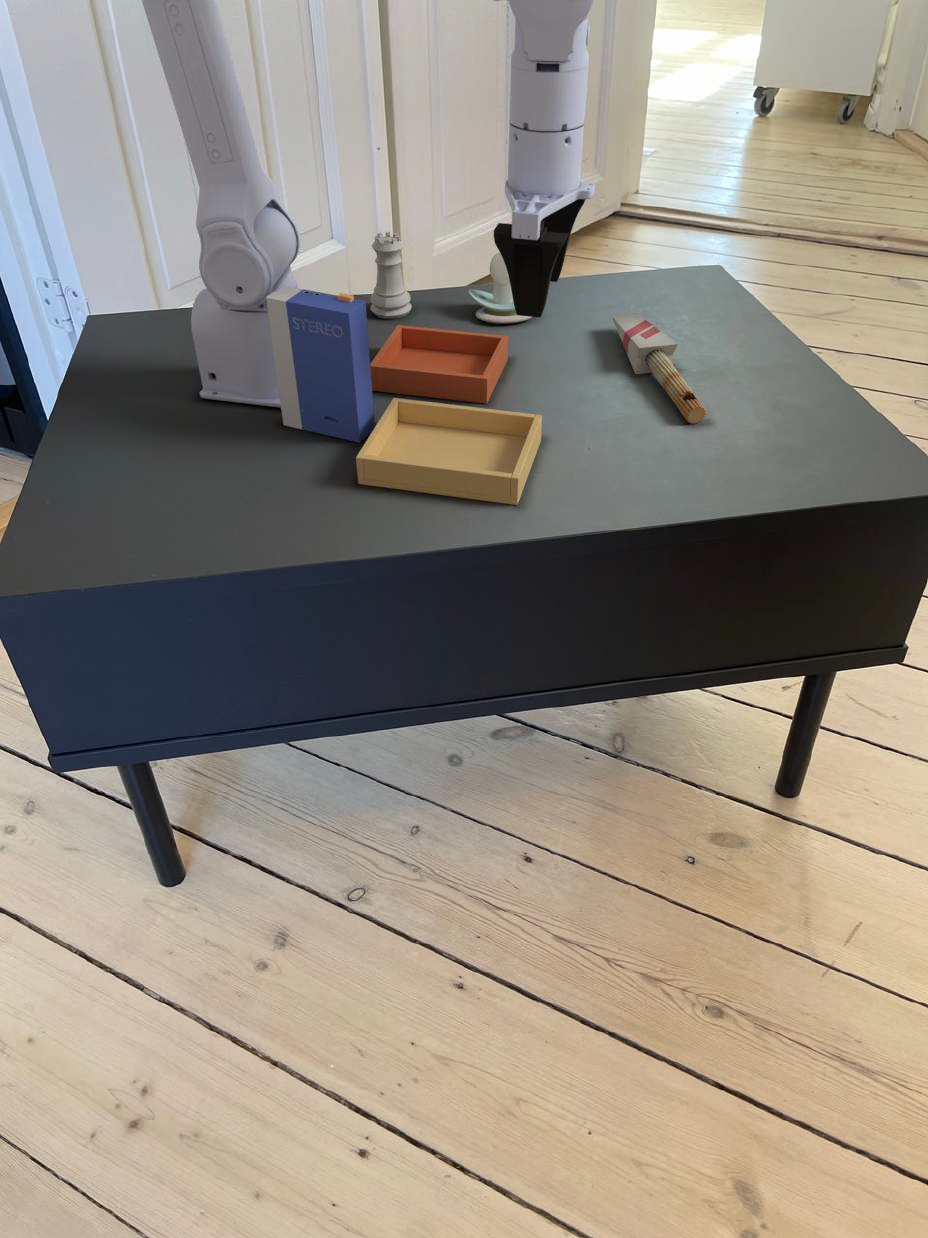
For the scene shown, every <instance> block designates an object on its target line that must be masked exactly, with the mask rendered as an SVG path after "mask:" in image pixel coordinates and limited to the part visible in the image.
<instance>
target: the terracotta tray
mask: <svg viewBox="0 0 928 1238" xmlns="http://www.w3.org/2000/svg"><path fill="white" fill-rule="evenodd" d="M508 355H509V336H508V335H502V334H491V333H480V332H473V331H471V332H470V331H462V330H453V329H452V330H451V329H442V328H431V327H424V326H423V327H421V326H413V325H403V324H402V325H401V324H397V325H396V327H395V328H394V330H393V331H392V332H391V333H390V335H389V336H388V337H387V339H386V341H385V342H384V344H383V345H382V346H381V348H380V349H379V351H378V352H377V354H376V355H375V356H374V358H373V359H372V361H370V369H371V383H372V392H382V393H389V394H391V393H392V394H399V395H408V396H416V397H424V398H435V399H442V400H451V401H458V402H459V401H460V402H468V403H469V402H470V403H478V404H485V405H486V404H488V402H489V400H490V398H491V396H492V394H493V393H494V390H495V388H496V385H497V384H498V381H499V380H500V377H501V375H502V373H503V371H504V368H505V367H506V364H507V362H508V361H509V356H508Z"/></svg>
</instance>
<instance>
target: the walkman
mask: <svg viewBox="0 0 928 1238" xmlns="http://www.w3.org/2000/svg"><path fill="white" fill-rule="evenodd" d="M354 296H355V295H354V294H350V293H349V294H348V293H344V292H340V293H339V294H338V295H337V294H331V293H325V292H320V291H315V290H309V289H304V288H299V287H298V288H293V287H288V286H284V287H283V288H281V289H280V290H278V291H277V292H275V291H274V292H273V293H271V294H270V295H268V296H267V297H266V301H267V308H268V315H269V322H270V329H271V336H272V348H273V355H274V362H275V369H276V376H277V383H278V390H279V397H280V404H281V408H280V410H281V418H282V424H283V426H286V427H291V428H294V429H299V430H304V431H307V432H312V433H316V434H321V435H325V436H328V437H332V438H333V437H334V438H338V439H341V440H346V441H351V442H355V443H359V444H360V443H361V442H362V441H364V440H365V439H366V438H367V437H368V436H370V434H371V433H372V431H373V430H374V428H375V426H376V423H375V411H374V410H375V409H374V398H373V391H372V383H371V369H370V364H371V357H370V342H369V331H368V317H367V303H366V300H364V299H358V298H355V297H354Z"/></svg>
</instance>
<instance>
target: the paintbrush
mask: <svg viewBox="0 0 928 1238" xmlns="http://www.w3.org/2000/svg"><path fill="white" fill-rule="evenodd" d="M611 318H612V321H613V324H614V326H615V328H616V330H617V333H618V335H619V338H620V339H621V340H620V341H621V343H622V346H623V349H624V351H625V352H626V355H627V357H628V360H629V363H630V365H631V367H632V370H633V372H634V374H635V375H642V374H651V373H653V375H654V377H656V379H657V380H658V382H659V383H660V384H661V386H662V388H663V389H664V391H665V392H666V394H667V395H668V396H669V398H670V399H671V400H672V402H673V403H674V405H675V406H676V407H677V409H678V410H679V412H680V414H682V417H684V419H685V420H686V421H687V423H690V424H697V423H700V422H701V421H703V420H704V419H705V418H706V415H707V409H706V408H705V406H704V405H703V404H702V403H701V401H700V400H699V398H698V397H697V396H696V394H695V393H694V392H693V390H692V389H691V387H690V386H689V385H688V384H687V382H686V381H685V379H684V378H683V377H682V375H681V373H680V372H679V371H678V370H677V368H676V367H675V366H674V353H675V351H676V349H677V347H678V345H679V344H678V343H677V342H676V341H674V340H673V339H671V337H669V336H668V335H667V334H665V332H663V331H661V330H660V329H659V328H657V327H656V326H655V325H654V324H652V323H651V322H650V321H649V320H647V319H646V318H644V317H643V316H641V315H640V314H639V313H638V312H635V313H626V314H614V315H611Z"/></svg>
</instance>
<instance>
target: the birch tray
mask: <svg viewBox="0 0 928 1238" xmlns="http://www.w3.org/2000/svg"><path fill="white" fill-rule="evenodd" d="M542 427H543V415H542V414H535V413H527V412H519V411H511V410H510V411H509V410H501V409H495V408H493V409H491V408H483V407H475V406H468V405H467V406H466V405H458V404H449V403H441V402H433V401H432V402H431V401H425V400H415V399H407V398H398V397H393V398H392V399H391V401H390V402H389V404H388V406H387V408H386V409H385V411H384V412H383V414H382V416H381V417H380V418H379V420H378V421H377V423H376V424H375V428H374V430H373V431H372V432H371V433H370V434H369V435H368V438H366V441H365V442H364V444H363V446H362V447H361V449H360V451H358V453H357V455H356V457H355V460H356V461H355V463H356V474H357V484H358V485H363V486H372V487H378V488H387V489H393V490H394V489H395V490H401V491H408V492H409V491H410V492H416V493H422V494H423V493H425V494H431V495H439V496H440V495H441V496H446V497H453V498H460V499H467V500H468V499H469V500H476V501H484V502H490V503H499V504H506V505H513V506H518V504H519V502H520V499H521V497H522V494H523V491H524V489H525V486H526V482H527V480H528V477H529V475H530V473H531V470H532V467H533V463H534V461H535V458H536V455H537V452H538V450H539V447H540V444H541V443H542V430H543V429H542Z"/></svg>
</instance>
